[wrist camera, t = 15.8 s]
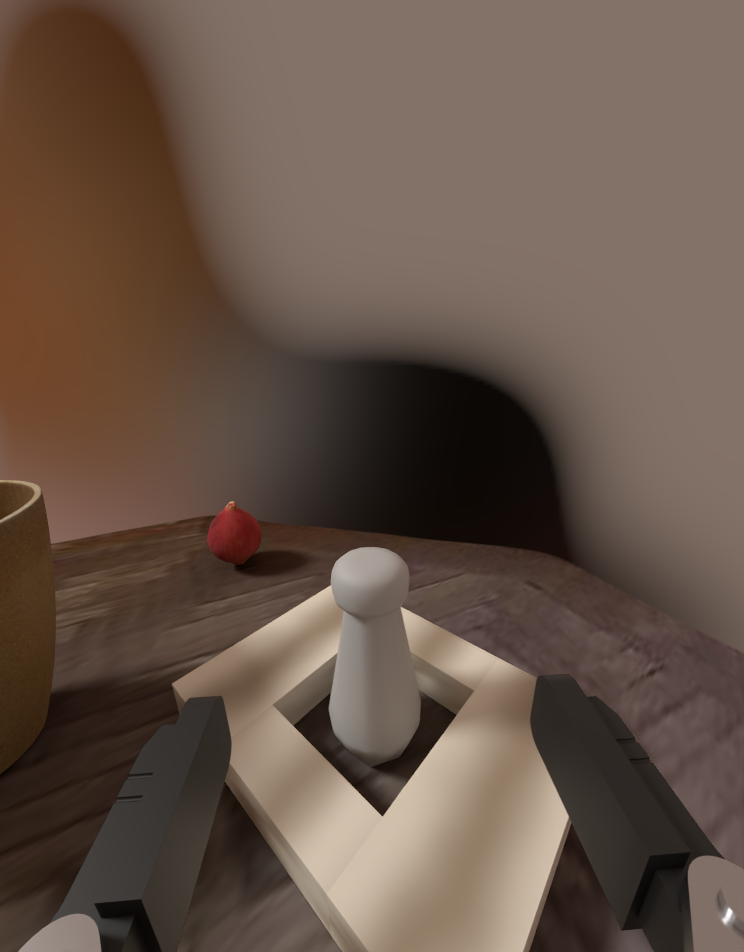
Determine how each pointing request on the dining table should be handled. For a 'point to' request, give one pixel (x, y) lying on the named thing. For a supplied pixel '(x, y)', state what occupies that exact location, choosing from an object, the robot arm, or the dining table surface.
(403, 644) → the salt shaker
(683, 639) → the dining table surface
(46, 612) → the plant pot
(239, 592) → the dining table surface
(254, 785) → the hole board
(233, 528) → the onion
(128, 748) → the dining table surface
